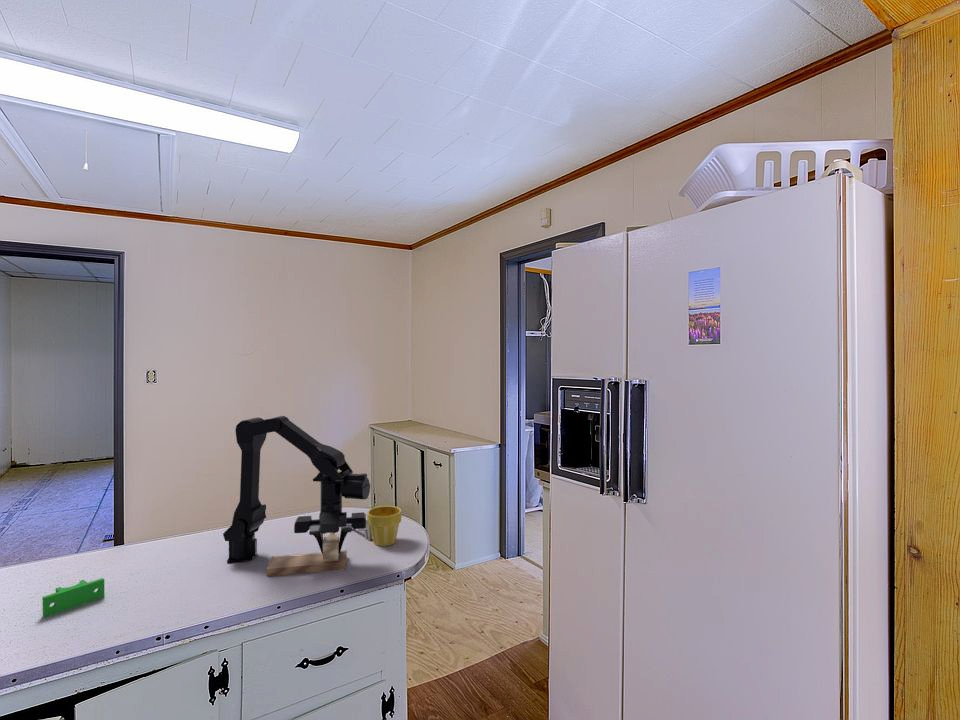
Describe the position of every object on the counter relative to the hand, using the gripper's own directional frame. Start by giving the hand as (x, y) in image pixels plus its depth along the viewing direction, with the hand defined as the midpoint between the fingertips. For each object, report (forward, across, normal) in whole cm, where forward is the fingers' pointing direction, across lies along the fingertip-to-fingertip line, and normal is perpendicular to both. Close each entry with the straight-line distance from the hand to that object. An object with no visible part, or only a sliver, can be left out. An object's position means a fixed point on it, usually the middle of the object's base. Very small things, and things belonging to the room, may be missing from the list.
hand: (331, 553), depth 137 cm
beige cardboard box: (+1, 0, +2) cm, 2 cm away
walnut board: (+3, -6, 0) cm, 7 cm away
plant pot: (+3, +15, +13) cm, 20 cm away
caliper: (+4, +6, +24) cm, 25 cm away
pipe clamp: (+4, -57, -9) cm, 58 cm away
